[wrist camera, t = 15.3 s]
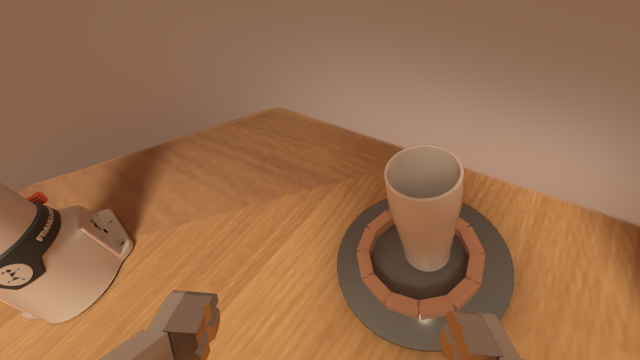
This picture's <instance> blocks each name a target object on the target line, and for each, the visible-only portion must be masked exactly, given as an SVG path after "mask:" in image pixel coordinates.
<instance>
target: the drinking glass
mask: <svg viewBox="0 0 640 360" xmlns="http://www.w3.org/2000/svg"><path fill="white" fill-rule="evenodd" d="M384 182H385V190H386V196H387V201H388V205H389V209H390V212H391V215H392V218H393V220H394V223H395V226H396V229H397V232H398V235H399V238H400V240H401V243H402V247H403V252H404V255H405V258H406V260H407V261H408V263H409V264H410V265H411V266H413V267H414V268H416V269H418V270H420V271H424V272H433V271H437V270H439V269H441V268H443V267H444V266H445V265H446V264H447V263H448V261H449V259H450V255H451V247H452V242H453V238H454V234H455V230H456V227H457V223H458V219H459V215H460V211H461V207H462V201H463V192H464V168H463V165H462V163H461V161H460V159H459V158H458V157H457V156H456V155H455V154H454V153H452V152H451V151H449V150H447V149H445V148H442V147H439V146H434V145H417V146H412V147H408V148H405V149H403V150H401V151H399V152H398V153H396V154H395V155H394V156H393V157H391V159H390V160H389V161H388V162H387V164H386V166H385V169H384Z"/></svg>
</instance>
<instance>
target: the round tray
mask: <svg viewBox="0 0 640 360" xmlns="http://www.w3.org/2000/svg"><path fill="white" fill-rule="evenodd" d="M337 270H338V278H339V283H340V287H341V290H342V292H343V295H344V297H345V299H346V301H347V303H348V305H349V306H350V308H351V309H352V311H353V312H354V314H355V315H356V316H357V317H358V319H359V320H360V321H361V322H362V323H363V324H364V325H365V326H366V327H367V328H369V329H370V330H371V331H372V332H373V333H375V334H376V335H378V336H380V337H381V338H383V339H384V340H387V341H389V342H391V343H393V344H395V345H398V346H401V347H404V348H407V349H412V350H417V351H427V352H439V351H442V349H441V344H440V332H441V329H442V326H444V325H445V324H447V322H446V319H445V317H446V314H447V313H448V312H449V311H463V312H477V313H491V314H495V315H496V316H497V318H498V319H499V320H500V319H501V318H502V316H503V314H504V312H505V311H506V309H507V307H508V304H509V301H510V299H511V296H512V292H513V285H514V269H513V263H512V258H511V255H510V252H509V249H508V247H507V245H506V243H505V241H504V239H503V238H502V237H501V235H500V234H499V232H498V231H497V229H496V228H495V227H494V226H493V225H492V224H491V223H490V222H489V221H488V220H487V219H486V218H485V217H484V216H483V215H481V214H480V213H478V212H477V211H476V210H474V209H473V208H471V207H469V206H467V205H465V204H464V203H462V207H461V211H460V215H459V219H458V223H457V227H456V230H455V234H454V238H453V242H452V247H451V255H450V259H449V261H448V263H447V264H446V265H445V266H444V267H443V268H441V269H439V270H437V271H433V272H424V271H420V270H418V269H416V268H414V267H413V266H411V265H410V264H409V263H408V261H407V260H406V258H405V255H404V252H403V247H402V243H401V240H400V238H399V235H398V232H397V229H396V226H395V223H394V220H393V218H392V215H391V212H390V209H389V205H388V201H387V199H386V200H383V201H381V202H379V203H377V204H375V205H373V206H371V207H370V208H368V209H367V210H366V211H364V212H363V213H362V214H361V215H360V216H359V217H357V219H356V220H355V221H354V222H353V223H352V224H351V226H350V227H349V229H348V230H347V232H346V234H345V236H344V238H343V240H342V243H341V245H340V249H339V253H338V262H337Z"/></svg>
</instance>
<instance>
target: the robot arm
mask: <svg viewBox="0 0 640 360" xmlns="http://www.w3.org/2000/svg"><path fill="white" fill-rule="evenodd" d="M47 201H48V199H47V197H46V196H45V195H43V193H41V192H36V193H34V194H33V195H32V196H31V197H28V198H26V199H25V198H24V197H22V196H21V195H19V194H17V193H16V192H14V191H13V190H11V189H10V188H8V187H6V186H5V185H3V184H2V183H0V300H1V301H3V302H5V303H7V304H9V305H11V306H13V307H15V308H17V309H19V310H22V317H24V318H26V319H28V320H33V319H42V320H44V321H45V322H47V323H61V322H64V321H67V320H69V319H71V318H73V317H75V316H77V315H78V314H80V313H81V312H83V311H84V310H86V309H87V308H88V307H89V306H91V305H92V304H93V303H94V302H95V301H96V300H97V299H98V298H99V297H100V296H101V295H102V294H103V293H104V292H105V290H106V289H107V288H108V286H109V285H110V284H111V282H112V281H113V279H114V277H115V276H116V274H117V272H118V270H119V267H120V265H121V264H122V262H123V260H124V259H125V258H126V257H127V256H128V254H129V253H130V252H131V250H132V249H133V246H134V244H133V242H132V241H131V239H130V237H129V236H128V234H127V232H126V231H125V229H124V228H123V226H122V224H121V223H120V221H119V220H118V218H117V216H116V215H115V213H114V212H113V211H112V210H110V209H105V210H101V211H99V212H96V213H92V212H91V211H89V210H88V209H86V208H85V207H83V206H72V207H68V208H64V209H59V210H55V209H52V208H50V207H49V206H45V205H42V204H44V203H46V202H47ZM217 303H218V297H217V294H211V293H201V292H191V291H179V290H173V291H172V292H171V293H170V294H169V295H168V297H167V298H166V300H165V301H164V303H163V305H162V306H161V308H160V309H159V311H158V313H157V314H156V316H155V317H154V319H153V321H152V322H151V324H150V325H149V327H148V329H147V330H142V331H140V332H139V333H137V334H136V335H134V336H133V337H131V338H130V339H128V340H127V341H125V342H124V343H123V344H121V345H120V346H118V347H117V348H115V349H114V350H112V351H111V352H109V353H108V354H106V355H105V356H103V357H102V358H100V359H99V360H207V358H208V355H209V352H210V347H209V343H210V342H211V341H213V340H214V339H215V337H216V334H217V331H218V327H219V322H220V311H219V309H218V308H217V307H216V305H217ZM445 319H446V322H447V324H445V325H444V326H442V329H441V332H440V344H441V349H442V352H443V355H444V357H445V358H446V359H447V360H526V359H521V358H520V356H519V354H518V353H517V351H516V349H515V347H514V346H513V344H512V342H511V340H510V339H509V337H508V335H507V333H506V332H505V330H504V328H503V326H502V325H501V323H500V321H499V319H498V318H497V316H496V315H495V314H491V313H477V312H463V311H449V312H448V313H447V314H446V317H445Z"/></svg>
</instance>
